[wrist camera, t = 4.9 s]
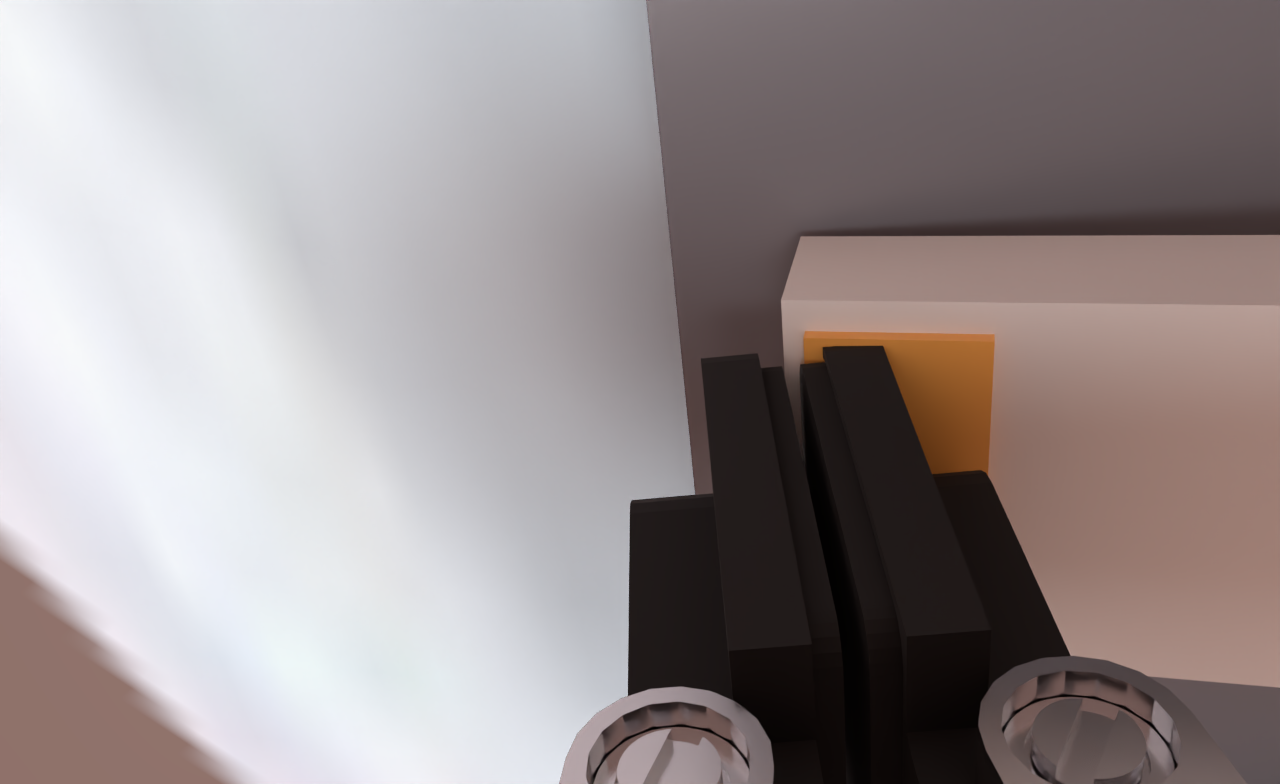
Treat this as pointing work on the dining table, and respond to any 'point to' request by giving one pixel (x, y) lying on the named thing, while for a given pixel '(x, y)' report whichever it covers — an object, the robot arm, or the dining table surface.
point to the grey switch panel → (957, 162)
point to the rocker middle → (1090, 418)
